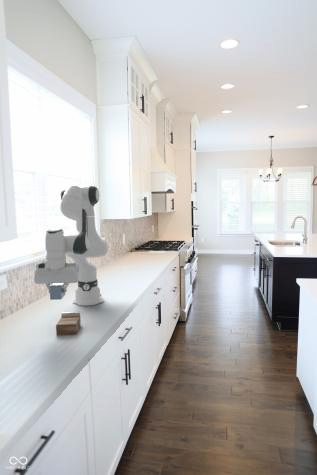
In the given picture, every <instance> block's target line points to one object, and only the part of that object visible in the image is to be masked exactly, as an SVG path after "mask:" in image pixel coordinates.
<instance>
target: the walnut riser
mask: <svg viewBox="0 0 317 475" xmlns="http://www.w3.org/2000/svg"><path fill="white" fill-rule="evenodd" d="M60 315H61V317H60V319H59V320H58V321H57V323H56V325H55V330H56V332H55V333H56V336H75V335H77V333H78V332H79V330H80V328H81V324H82V323H81V311H67V312H66V311H64V312H61V313H60Z"/></svg>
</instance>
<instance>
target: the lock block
mask: <svg viewBox="0 0 317 475" xmlns="http://www.w3.org/2000/svg"><path fill="white" fill-rule="evenodd" d="M49 286H50V293H49V299H50V300H51V301H52V300H56V301H57V300H58V301H59V300H62V299H63V298H64V297H65V296H66V292H63V288H65V286H66V285H65V283H51V284H50V285H49Z"/></svg>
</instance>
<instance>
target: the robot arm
mask: <svg viewBox="0 0 317 475" xmlns="http://www.w3.org/2000/svg"><path fill="white" fill-rule="evenodd" d="M60 200H61V202H60V211H61V214H62V215H63V216H64V217H66V218H67V219H69V220H72V221H75V224H76V225H75V226H76V231H77V233H67V234H66V233H65V232H64V229H63V228H60V227H54V228H50V229H48V230H46V231H45V232H46V233H45V242H44V243H45V251H46V256H45V258H46V259H45V260H42V261H40V262H38V263H36V265H35V268H36V269H35V270H34V276H33V277H34V279H33V280H34V283H35V284H37V285H39V284H40V285H45V287H46V288H47V290H48V293H49V294H50V286H51V284H53V283H65V288H63V292H65V293H67V290H68V289H67V288H68V286H69V284H77V287H76V289H75V300H73V301H72V304H75V305H78V306H83V307H84V306H86V307H87V306H94V305H98V304H101V303H104V302H105V300H104V297H103V295H102V294H101V289H100V287H99V281H98V276H97V267H96V266H95V264H93V263H91V262H89V261H88V260H87V259H88V258H89V259H90V258H100V257H102V258H103V257H104V256H106V255H107V253H108V250H109V246H108V244H107V243H108V242H106V241H105V240H104V239H103V238H101V236H100V235H99V233H98V232H97V229H96V221H95V220H96V219H95V218H96V217H95V215H96V214H95V208H94V206H95V205H96V204H98V203H99V200H100V192H99V189H98V187H97V186H95V185H89V186H88V185H77V184H70V185H69V186H66V187H63V188H62V189H61V191H60ZM66 256H67V257H68V258H69V259H71V260H72V261H73V262H67V257H66ZM86 258H87V259H86Z"/></svg>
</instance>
